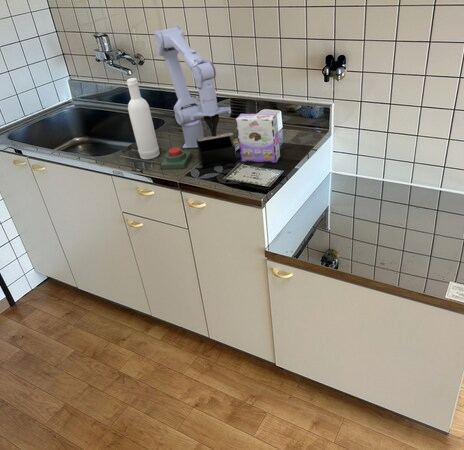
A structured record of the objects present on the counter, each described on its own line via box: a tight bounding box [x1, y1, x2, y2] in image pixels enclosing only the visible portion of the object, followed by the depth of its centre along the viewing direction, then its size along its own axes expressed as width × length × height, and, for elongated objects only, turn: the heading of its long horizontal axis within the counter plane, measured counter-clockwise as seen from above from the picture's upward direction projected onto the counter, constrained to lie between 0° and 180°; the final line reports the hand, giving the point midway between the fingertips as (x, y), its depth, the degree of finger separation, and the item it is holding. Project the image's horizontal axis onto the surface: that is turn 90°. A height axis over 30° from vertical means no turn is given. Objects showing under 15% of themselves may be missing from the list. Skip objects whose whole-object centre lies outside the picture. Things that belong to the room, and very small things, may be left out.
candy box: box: [235, 113, 281, 164], centre depth 167 cm, size 14×6×16 cm, turn 71°
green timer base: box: [160, 148, 192, 170], centre depth 176 cm, size 11×9×4 cm
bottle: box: [126, 77, 161, 160], centre depth 177 cm, size 8×8×30 cm
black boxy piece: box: [196, 136, 238, 170], centre depth 174 cm, size 12×13×6 cm
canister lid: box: [196, 132, 234, 142], centre depth 171 cm, size 13×13×1 cm
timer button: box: [168, 147, 182, 157], centre depth 175 cm, size 4×4×2 cm
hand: (213, 135), depth 171 cm, fingers closed, pressing on canister lid
